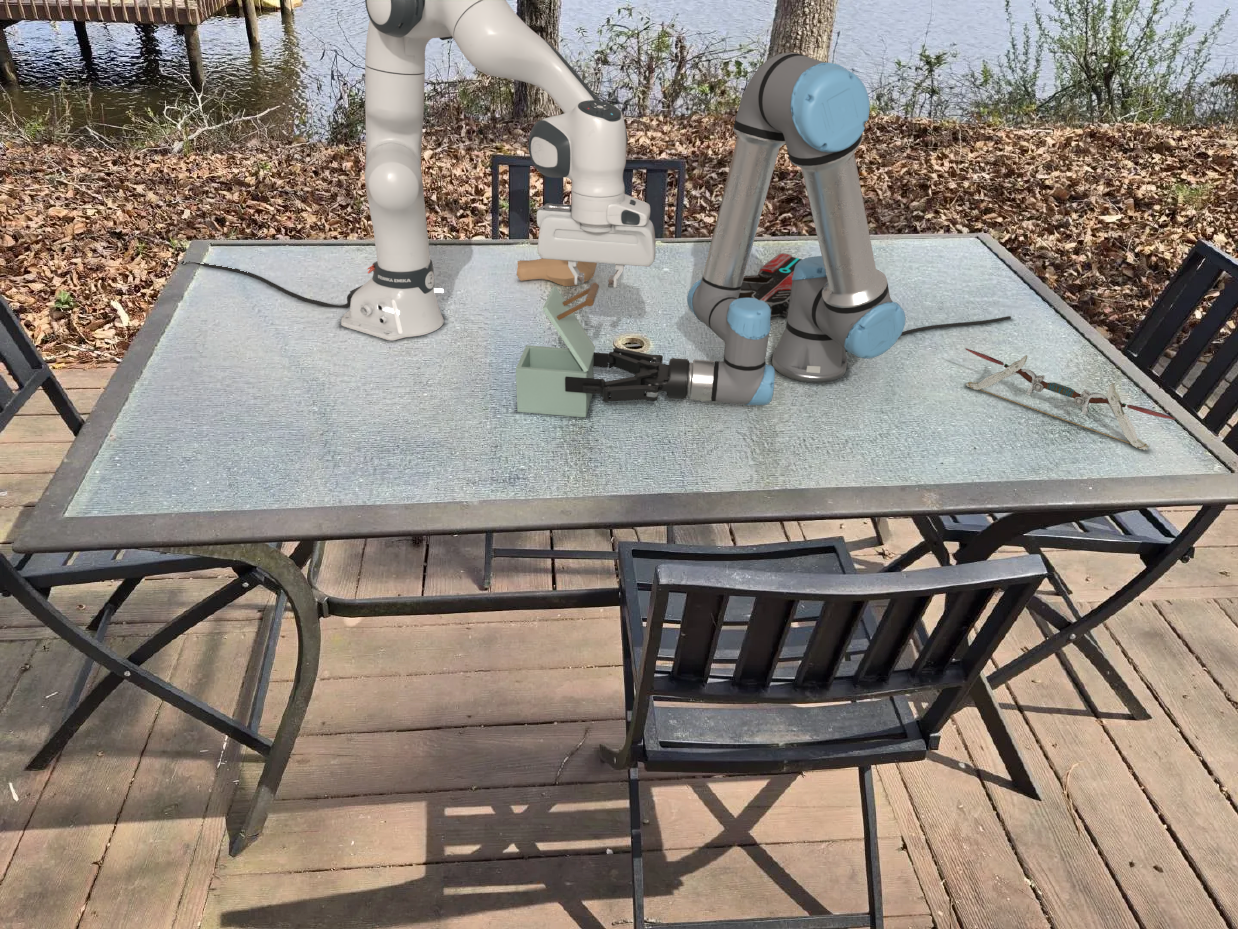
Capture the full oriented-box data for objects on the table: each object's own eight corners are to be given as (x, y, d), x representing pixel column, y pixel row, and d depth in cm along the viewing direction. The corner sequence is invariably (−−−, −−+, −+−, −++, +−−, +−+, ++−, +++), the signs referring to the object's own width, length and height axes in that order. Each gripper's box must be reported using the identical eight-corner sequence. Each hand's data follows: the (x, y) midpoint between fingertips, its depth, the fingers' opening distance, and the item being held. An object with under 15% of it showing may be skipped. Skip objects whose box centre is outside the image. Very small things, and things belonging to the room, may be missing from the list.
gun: (708, 284, 207) (784, 305, 199) (760, 245, 229) (831, 262, 221) (706, 302, 209) (781, 323, 201) (758, 261, 231) (828, 278, 223)
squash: (598, 290, 214) (593, 257, 208) (517, 297, 216) (510, 265, 210) (599, 266, 222) (594, 234, 216) (521, 274, 224) (515, 242, 218)
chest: (517, 412, 165) (515, 368, 159) (527, 387, 173) (526, 345, 167) (586, 417, 164) (586, 373, 158) (593, 392, 172) (593, 350, 166)
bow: (1161, 452, 158) (1183, 404, 152) (1158, 456, 157) (1180, 408, 151) (958, 380, 179) (970, 335, 174) (954, 383, 178) (966, 338, 173)
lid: (542, 309, 152) (582, 287, 149) (552, 287, 160) (589, 266, 157) (584, 372, 158) (623, 353, 155) (591, 348, 166) (629, 330, 163)
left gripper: (532, 208, 144) (534, 287, 152) (656, 217, 143) (651, 296, 150) (540, 196, 150) (541, 274, 157) (659, 205, 148) (654, 282, 156)
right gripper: (684, 428, 155) (560, 418, 157) (690, 369, 174) (579, 361, 175) (687, 390, 151) (559, 381, 153) (693, 335, 169) (579, 327, 171)
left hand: (596, 285), depth 154 cm, fingers open, 5 cm apart
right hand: (570, 370), depth 164 cm, fingers closed on chest, 10 cm apart
